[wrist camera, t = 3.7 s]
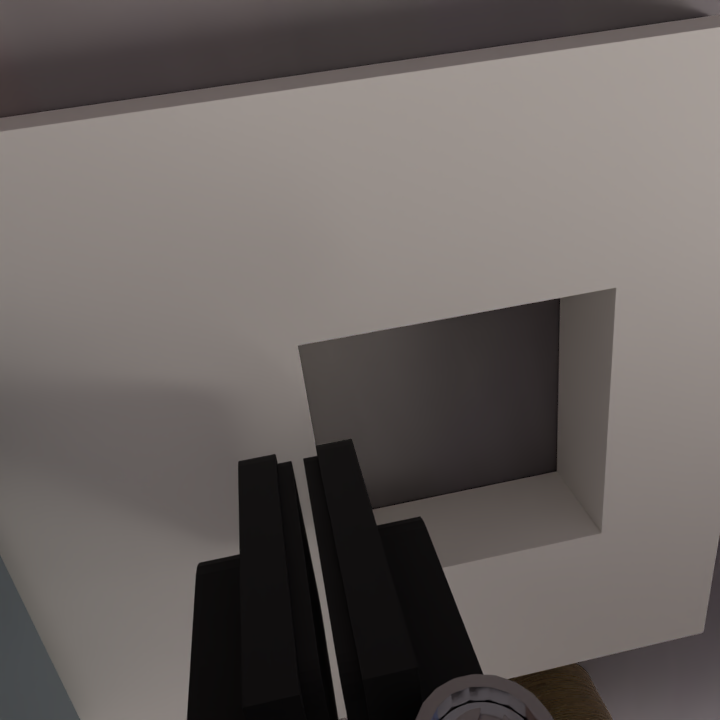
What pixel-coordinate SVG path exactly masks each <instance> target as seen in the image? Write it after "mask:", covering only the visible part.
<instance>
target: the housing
mask: <svg viewBox="0 0 720 720" xmlns="http://www.w3.org/2000/svg"><path fill="white" fill-rule="evenodd" d="M0 720H80V718H79V716H78V714H77V712H76V710H75V708H74V706H73V704H72V702H71V700H70V698H69V696H68V694H67V691H66V689H65V687H64V685H63V683H62V681H61V679H60V677H59V675H58V673H57V671H56V669H55V667H54V665H53V663H52V661H51V659H50V656H49V654H48V652H47V650H46V648H45V646H44V644H43V642H42V640H41V638H40V636H39V634H38V632H37V630H36V628H35V626H34V624H33V622H32V619H31V617H30V615H29V613H28V611H27V609H26V607H25V605H24V603H23V601H22V599H21V597H20V595H19V593H18V591H17V589H16V587H15V584H14V582H13V580H12V578H11V576H10V574H9V572H8V570H7V568H6V566H5V564H4V562H3V560H2V558H1V556H0Z"/></svg>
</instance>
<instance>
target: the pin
mask: <svg viewBox="0 0 720 720" xmlns="http://www.w3.org/2000/svg"><path fill="white" fill-rule="evenodd" d="M508 680H511V681H514V682H516V683H518V684H519V685H521V686H522V687H524V688H525V689H527V690H528V691H530V692H531V693H533V694H534V695H535V696H536V697H537V698H538V700H539V701H540V702H541V703H542V704H543V705H544V707H545V708H546V709H547V710H548V711H549V713H550V714H551V716H552V717H553V719H554V720H613V719H612V717H611V715H610V713H609V712H608V710H607V708H606V706H605V704H604V702H603V701H602V699H601V697H600V695H599V693H598V692H597V690H596V688H595V686H594V684H593V682H592V681H591V679H590V677H589V675H588V673H587V672H586V671H585V670H584V669H583V668H582V667H581V666H579V665H578V664H576V663H573V664H569V665H565V666H561V667H556V668H552V669H548V670H544V671H539V672H535V673H531V674H527V675H523V676H518V677H514V678H510V679H508Z"/></svg>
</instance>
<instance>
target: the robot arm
mask: <svg viewBox="0 0 720 720" xmlns="http://www.w3.org/2000/svg"><path fill="white" fill-rule="evenodd" d="M316 452H317V456H313V457H308V458H303V461H304V467H305V473H306V479H307V485H308V491H309V497H310V503H311V509H312V515H313V521H314V527H315V533H316V539H317V545H318V551H319V557H320V563H321V569H322V575H323V581H324V587H325V593H326V599H327V605H328V611H329V617H330V623H331V629H332V635H333V641H334V647H335V653H336V659H337V665H338V671H339V677H340V682H341V688H342V693H343V698H344V703H345V709H346V714H347V719H348V720H554V719H553V717H552V716H551V714H550V713H549V711H548V710H547V709H546V708H545V707H544V705H543V704H542V703H541V702H540V701H539V700H538V698H537V697H536V696H535V695H534V694H533V693H531V692H530V691H528V690H527V689H525V688H524V687H522V686H521V685H519V684H518V683H516V682H514V681H511V680H508V679H505V678H502V677H499V676H496V675H484V674H483V672H482V669H481V667H480V664H479V662H478V659H477V656H476V654H475V651H474V649H473V646H472V644H471V641H470V638H469V636H468V633H467V631H466V628H465V625H464V623H463V620H462V618H461V615H460V613H459V610H458V607H457V605H456V602H455V600H454V597H453V595H452V592H451V589H450V587H449V584H448V582H447V579H446V576H445V574H444V571H443V569H442V566H441V564H440V561H439V558H438V556H437V553H436V551H435V548H434V545H433V543H432V540H431V538H430V535H429V533H428V530H427V527H426V525H425V523H424V521H423V519H422V518H421V517H420V516H419V517H415V518H410V519H405V520H400V521H395V522H391V523H386V524H381V525H377V524H376V521H375V517H374V514H373V510H372V507H371V504H370V500H369V497H368V493H367V490H366V486H365V483H364V480H363V476H362V473H361V469H360V466H359V462H358V459H357V455H356V452H355V449H354V445H353V442H352V440H351V439H349V440H344V441H338V442H333V443H328V444H323V445H318V446H316ZM238 496H239V552H240V554H238V555H233V556H229V557H224V558H219V559H214V560H210V561H205V562H200V563H199V564H198V566H197V570H196V579H195V595H194V611H193V627H192V643H191V660H190V676H189V692H188V708H187V720H338V713H337V707H336V700H335V694H334V687H333V681H332V675H331V668H330V662H329V655H328V649H327V642H326V636H325V629H324V623H323V617H322V611H321V605H320V599H319V594H318V589H317V584H316V579H315V574H314V569H313V564H312V559H311V554H310V549H309V544H308V539H307V534H306V529H305V525H304V520H303V515H302V510H301V505H300V500H299V495H298V490H297V485H296V480H295V475H294V470H293V465H292V461H288V462H283V463H278V462H277V458H276V455H275V454H272V455H267V456H262V457H257V458H252V459H247V460H242V461H239V462H238Z"/></svg>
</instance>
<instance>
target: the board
mask: <svg viewBox="0 0 720 720" xmlns="http://www.w3.org/2000/svg"><path fill="white" fill-rule="evenodd" d="M557 298H560V329H559V382H558V434H557V471H556V472H551V473H547V474H542V475H537V476H532V477H527V478H522V479H518V480H513V481H508V482H503V483H498V484H494V485H489V486H484V487H479V488H474V489H469V490H465V491H460V492H455V493H450V494H445V495H441V496H436V497H431V498H426V499H421V500H416V501H412V502H407V503H402V504H397V505H392V506H388V507H383V508H378V509H373V514H374V517H375V521H376V524H377V525H381V524H386V523H391V522H395V521H400V520H405V519H410V518H415V517H419V516H420V517H421V518H422V519H423V521H424V523H425V525H426V527H427V530H428V533H429V535H430V538H431V540H432V543H433V545H434V548H435V551H436V553H437V556H438V558H439V561H440V564H441V566H442V569H443V571H444V574H445V576H446V579H447V582H448V584H449V587H450V589H451V592H452V595H453V597H454V600H455V602H456V605H457V607H458V610H459V613H460V615H461V618H462V620H463V623H464V625H465V628H466V631H467V633H468V636H469V638H470V641H471V644H472V646H473V649H474V651H475V654H476V656H477V659H478V662H479V664H480V667H481V669H482V672H483V674H484V675H496V676H499V677H502V678H505V679H510V678H514V677H518V676H523V675H527V674H531V673H535V672H539V671H544V670H548V669H552V668H556V667H561V666H565V665H569V664H573V663H578V662H582V661H586V660H590V659H594V658H599V657H603V656H607V655H611V654H616V653H620V652H624V651H628V650H633V649H637V648H641V647H645V646H649V645H654V644H658V643H662V642H666V641H671V640H675V639H679V638H683V637H688V636H692V635H696V634H700V633H703V632H704V626H705V620H706V614H707V608H708V602H709V596H710V590H711V584H712V578H713V572H714V566H715V560H716V554H717V548H718V542H719V536H720V15H719V16H706V17H699V18H692V19H686V20H679V21H672V22H665V23H658V24H651V25H644V26H637V27H630V28H623V29H616V30H609V31H602V32H595V33H588V34H581V35H574V36H567V37H560V38H553V39H546V40H539V41H532V42H525V43H518V44H511V45H504V46H498V47H491V48H484V49H477V50H470V51H463V52H456V53H449V54H442V55H435V56H428V57H421V58H414V59H407V60H400V61H393V62H386V63H379V64H372V65H365V66H358V67H351V68H344V69H337V70H330V71H323V72H316V73H310V74H303V75H296V76H289V77H282V78H275V79H268V80H261V81H254V82H247V83H240V84H233V85H226V86H219V87H212V88H205V89H198V90H191V91H184V92H177V93H170V94H163V95H156V96H149V97H142V98H135V99H128V100H122V101H115V102H108V103H101V104H94V105H87V106H80V107H73V108H66V109H59V110H52V111H45V112H38V113H31V114H24V115H17V116H10V117H3V118H0V556H1V558H2V560H3V562H4V564H5V566H6V568H7V570H8V572H9V574H10V576H11V578H12V580H13V582H14V584H15V587H16V589H17V591H18V593H19V595H20V597H21V599H22V601H23V603H24V605H25V607H26V609H27V611H28V613H29V615H30V617H31V619H32V622H33V624H34V626H35V628H36V630H37V632H38V634H39V636H40V638H41V640H42V642H43V644H44V646H45V648H46V650H47V652H48V654H49V656H50V659H51V661H52V663H53V665H54V667H55V669H56V671H57V673H58V675H59V677H60V679H61V681H62V683H63V685H64V687H65V689H66V691H67V694H68V696H69V698H70V700H71V702H72V704H73V706H74V708H75V710H76V712H77V714H78V716H79V718H80V720H187V708H188V692H189V676H190V660H191V643H192V627H193V611H194V595H195V579H196V570H197V566H198V564H199V563H200V562H205V561H210V560H214V559H219V558H224V557H229V556H233V555H238V554H240V552H239V496H238V462H239V461H242V460H247V459H252V458H257V457H262V456H267V455H272V454H275V455H276V458H277V462H278V463H283V462H288V461H292V465H293V470H294V475H295V480H296V485H297V490H298V495H299V500H300V505H301V510H302V515H303V520H304V525H305V529H306V534H307V539H308V544H309V549H310V554H311V559H312V564H313V569H314V574H315V579H316V584H317V589H318V594H319V599H320V605H321V611H322V617H323V623H324V629H325V636H326V642H327V649H328V655H329V662H330V668H331V675H332V681H333V687H334V694H335V700H336V707H337V713H338V719H341V718H345V717H347V714H346V709H345V703H344V698H343V693H342V688H341V682H340V677H339V671H338V665H337V659H336V653H335V647H334V641H333V635H332V629H331V623H330V617H329V611H328V605H327V599H326V593H325V587H324V581H323V575H322V569H321V563H320V557H319V551H318V545H317V539H316V533H315V527H314V521H313V515H312V509H311V503H310V497H309V491H308V485H307V479H306V473H305V467H304V461H303V458H308V457H313V456H317V452H316V444H315V438H314V433H313V427H312V422H311V416H310V411H309V405H308V400H307V394H306V388H305V383H304V377H303V372H302V366H301V361H300V355H299V350H298V345H304V344H309V343H315V342H320V341H326V340H331V339H337V338H342V337H348V336H353V335H359V334H364V333H370V332H375V331H381V330H386V329H392V328H397V327H403V326H408V325H414V324H419V323H425V322H430V321H436V320H441V319H447V318H452V317H458V316H463V315H469V314H474V313H480V312H485V311H491V310H496V309H502V308H507V307H513V306H518V305H524V304H529V303H535V302H540V301H546V300H551V299H557Z"/></svg>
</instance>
